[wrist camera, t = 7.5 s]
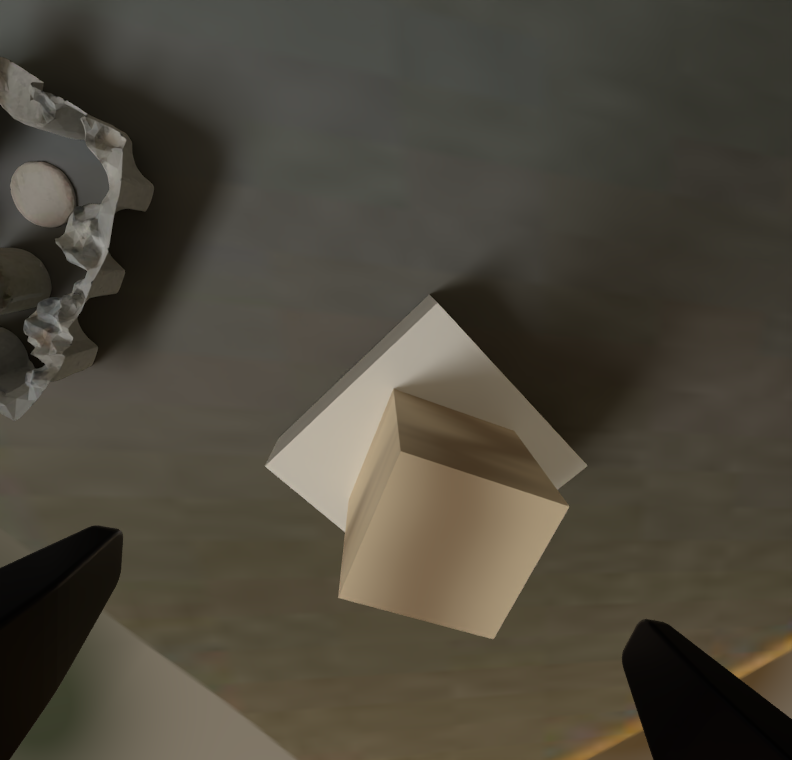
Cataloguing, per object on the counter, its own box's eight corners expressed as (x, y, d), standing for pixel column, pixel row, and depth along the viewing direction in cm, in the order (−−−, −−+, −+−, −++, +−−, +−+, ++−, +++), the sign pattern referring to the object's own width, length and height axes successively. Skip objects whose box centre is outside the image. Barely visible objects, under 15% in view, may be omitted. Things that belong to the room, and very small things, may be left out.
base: (429, 294, 17) (437, 302, 15) (562, 438, 20) (587, 465, 17) (278, 438, 19) (264, 466, 17) (417, 556, 21) (422, 595, 19)
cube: (514, 431, 17) (569, 506, 12) (462, 534, 18) (493, 639, 13) (393, 388, 16) (400, 451, 11) (348, 499, 17) (338, 597, 13)
